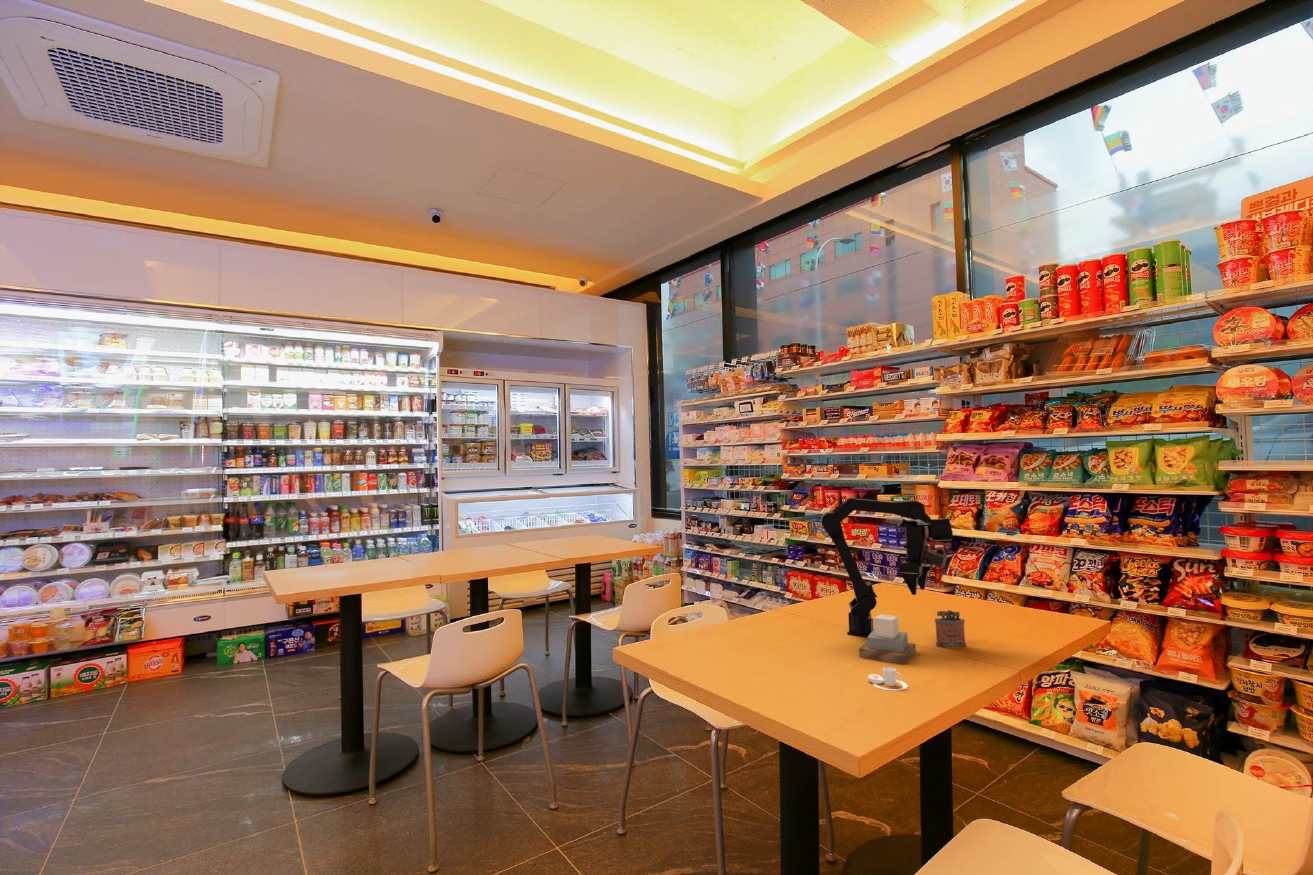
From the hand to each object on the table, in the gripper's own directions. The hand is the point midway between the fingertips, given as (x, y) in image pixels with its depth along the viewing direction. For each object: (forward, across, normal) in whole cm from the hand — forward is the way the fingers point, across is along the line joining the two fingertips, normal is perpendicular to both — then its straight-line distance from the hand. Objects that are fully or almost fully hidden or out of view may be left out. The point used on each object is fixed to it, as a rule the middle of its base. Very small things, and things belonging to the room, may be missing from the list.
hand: (918, 591), depth 189 cm
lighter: (+13, -7, -10) cm, 18 cm away
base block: (+14, -24, +2) cm, 28 cm away
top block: (+11, -24, +2) cm, 26 cm away
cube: (+8, -24, +2) cm, 25 cm away
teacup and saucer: (+14, -44, -4) cm, 47 cm away
